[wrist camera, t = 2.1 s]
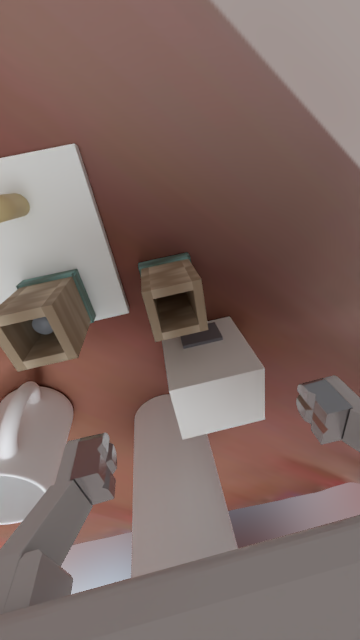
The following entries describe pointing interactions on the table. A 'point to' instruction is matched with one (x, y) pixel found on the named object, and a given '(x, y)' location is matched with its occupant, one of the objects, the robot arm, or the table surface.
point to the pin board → (55, 229)
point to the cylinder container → (174, 494)
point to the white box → (214, 379)
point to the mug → (30, 446)
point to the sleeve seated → (61, 312)
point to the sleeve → (173, 296)
